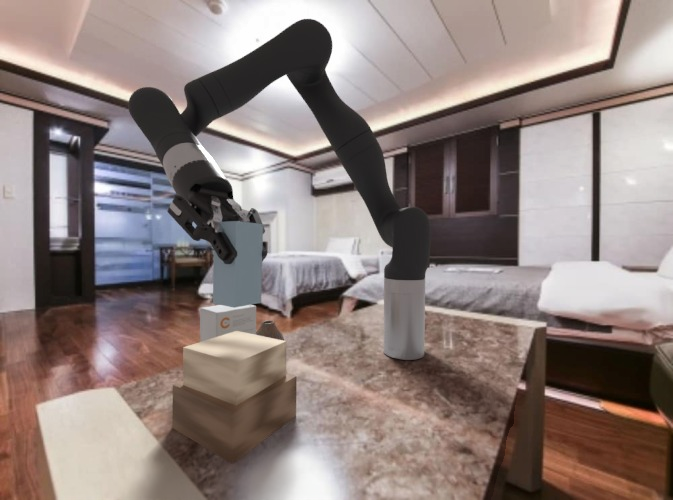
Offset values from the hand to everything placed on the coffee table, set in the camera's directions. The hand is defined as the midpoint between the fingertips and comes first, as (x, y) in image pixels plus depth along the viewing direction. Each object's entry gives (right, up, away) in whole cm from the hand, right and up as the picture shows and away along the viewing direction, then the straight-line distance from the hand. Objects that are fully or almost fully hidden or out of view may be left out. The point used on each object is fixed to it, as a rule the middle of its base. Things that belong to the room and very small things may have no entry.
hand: (247, 259), depth 39 cm
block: (-2, -6, +1) cm, 6 cm away
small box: (-8, -22, +15) cm, 28 cm away
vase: (-2, -23, +21) cm, 31 cm away
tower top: (-2, -17, +1) cm, 17 cm away
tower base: (-2, -23, +1) cm, 23 cm away
